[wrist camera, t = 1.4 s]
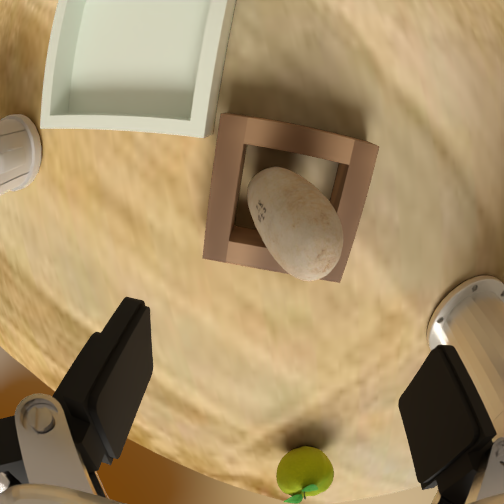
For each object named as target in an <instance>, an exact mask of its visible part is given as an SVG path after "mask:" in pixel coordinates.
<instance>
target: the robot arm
mask: <svg viewBox="0 0 504 504" xmlns="http://www.w3.org/2000/svg"><path fill="white" fill-rule="evenodd" d="M427 342H428V345H429V347H430V349H431V352H430V354H429V355H428V357H427V358H426V360H425V362H424V363H423V365H422V366H421V368H420V369H419V371H418V372H417V374H416V375H415V377H414V378H413V380H412V381H411V383H410V384H409V386H408V387H407V388H406V390H405V391H404V393H403V394H402V395H401V397H400V399H399V410H400V413H401V417H402V420H403V424H404V428H405V431H406V435H407V439H408V443H409V447H410V451H411V455H412V459H413V463H414V467H415V472H416V476H417V480H418V482H419V483H421V487H422V490H424V489H429V488H434V487H435V486H437V485H438V491H437V493H436V495H435V497H434V499H433V501H432V503H431V504H504V284H503V283H502V282H501V281H500V280H499V279H497V278H496V277H493V276H489V275H485V276H478V277H474V278H472V279H469V280H467V281H465V282H463V283H462V284H460V285H459V286H457V287H456V288H455V289H454V290H452V291H451V292H450V293H449V294H448V295H447V296H446V297H445V298H444V299H443V300H442V302H441V303H440V304H439V306H438V307H437V308H436V310H435V312H434V313H433V315H432V317H431V320H430V322H429V325H428V329H427ZM152 372H153V357H152V342H151V323H150V308H149V307H147V306H145V303H144V301H142V300H138V299H134V298H129V297H125V298H124V299H123V301H122V302H121V304H120V305H119V307H118V308H117V310H116V311H115V313H114V314H113V316H112V317H111V318H110V320H109V321H108V323H107V324H106V326H105V327H104V329H103V331H102V332H101V333H99V332H95V333H93V334H92V336H91V337H90V338H89V340H88V341H87V343H86V344H85V346H84V347H83V349H82V350H81V352H80V353H79V355H78V356H77V358H76V360H75V361H74V363H73V364H72V366H71V367H70V369H69V370H68V372H67V374H66V375H65V377H64V378H63V380H62V382H61V383H60V385H59V386H58V388H57V390H56V391H55V393H54V395H53V396H52V397H51V396H49V395H46V394H33V395H30V396H27V397H26V398H25V399H23V400H22V401H21V402H20V403H19V405H18V406H17V409H16V411H15V416H11V417H7V418H3V419H0V504H125V503H121V502H117V501H114V500H111V499H109V498H108V496H107V494H106V492H105V490H104V488H103V486H102V484H101V481H100V479H99V477H98V475H97V472H96V471H97V470H99V467H100V465H101V462H104V463H107V464H110V465H111V463H112V461H113V458H116V459H118V458H119V457H120V455H121V452H122V450H123V447H124V444H125V441H126V439H127V436H128V434H129V431H130V429H131V426H132V423H133V421H134V418H135V416H136V413H137V411H138V408H139V405H140V403H141V400H142V398H143V395H144V393H145V390H146V388H147V385H148V383H149V381H150V378H151V375H152Z"/></svg>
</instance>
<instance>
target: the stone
mask: <svg viewBox="0 0 504 504" xmlns="http://www.w3.org/2000/svg"><path fill="white" fill-rule="evenodd" d="M247 199H248V206H249V210H250V213H251V216H252V218H253V221H254V224H255V226H256V228H257V230H258V232H259V234H260V236H261V238H262V240H263V242H264V244H265V245H266V247H267V249H268V250H269V252H270V253H271V255H272V256H273V257H274V259H275V260H276V261H277V262H278V264H279V265H280V266H281V267H282V268H283V269H284V270H286V271H287V272H288V273H289V274H290V275H292V276H294V277H296V278H298V279H300V280H304V281H315V280H318V279H321V278H323V277H325V276H326V275H328V274H329V273H330V272H331V271H332V269H333V268H334V267H335V265H336V264H337V262H338V261H339V259H340V256H341V252H342V247H343V230H342V225H341V222H340V219H339V217H338V215H337V213H336V211H335V209H334V207H333V206H332V204H331V203H330V202H329V200H328V199H327V198H326V197H325V196H324V195H323V194H322V193H321V192H320V191H319V190H318V189H317V188H316V187H315V186H314V185H313V184H311V183H310V182H309V181H307V180H306V179H304V178H303V177H301V176H300V175H298V174H296V173H295V172H293V171H291V170H288V169H285V168H282V167H270V168H266V169H264V170H262V171H260V172H259V173H258V174H256V175H255V176H254V178H253V179H252V180H251V181H250V183H249V186H248V193H247Z"/></svg>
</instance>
